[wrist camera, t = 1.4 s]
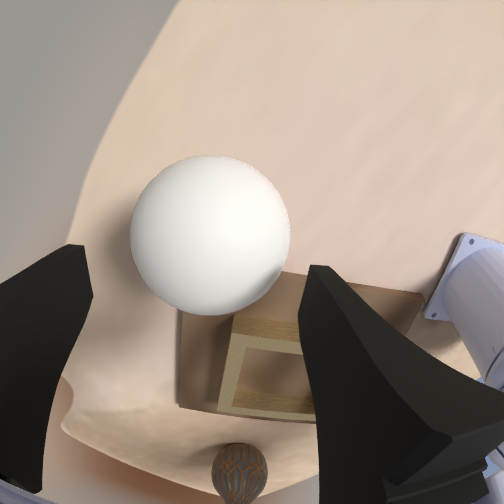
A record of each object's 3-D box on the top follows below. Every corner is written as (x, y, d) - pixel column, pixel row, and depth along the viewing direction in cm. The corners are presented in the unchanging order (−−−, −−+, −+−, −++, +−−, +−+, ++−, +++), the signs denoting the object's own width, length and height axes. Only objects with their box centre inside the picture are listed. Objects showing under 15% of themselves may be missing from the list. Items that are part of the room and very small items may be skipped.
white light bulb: (204, 234, 21) (160, 361, 12) (165, 149, 19) (71, 227, 9) (294, 204, 20) (318, 327, 11) (260, 112, 17) (254, 149, 8)
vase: (232, 432, 34) (227, 498, 26) (278, 447, 36) (279, 507, 28) (205, 449, 37) (197, 506, 29) (248, 463, 39) (245, 516, 31)
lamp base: (421, 293, 23) (424, 299, 22) (343, 418, 32) (344, 424, 31) (188, 255, 22) (186, 261, 22) (180, 401, 31) (178, 407, 30)
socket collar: (365, 332, 24) (370, 349, 22) (323, 405, 29) (325, 421, 28) (234, 314, 24) (231, 332, 22) (218, 393, 29) (216, 410, 27)
